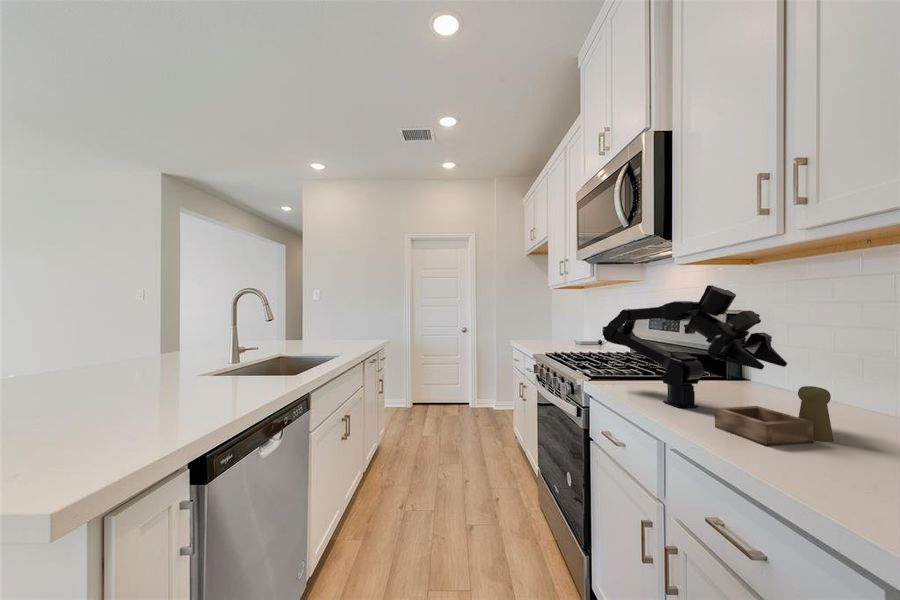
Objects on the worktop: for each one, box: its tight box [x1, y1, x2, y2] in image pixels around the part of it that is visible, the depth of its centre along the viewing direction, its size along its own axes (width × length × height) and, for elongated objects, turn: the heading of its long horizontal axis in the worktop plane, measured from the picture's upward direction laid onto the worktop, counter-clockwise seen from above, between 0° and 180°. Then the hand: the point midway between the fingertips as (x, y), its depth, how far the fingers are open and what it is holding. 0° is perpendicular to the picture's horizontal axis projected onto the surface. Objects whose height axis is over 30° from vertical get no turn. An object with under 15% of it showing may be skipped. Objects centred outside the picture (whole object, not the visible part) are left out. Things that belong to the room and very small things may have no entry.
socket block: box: [714, 405, 814, 447], centre depth 83 cm, size 12×12×4 cm
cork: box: [797, 385, 835, 443], centre depth 82 cm, size 6×6×11 cm
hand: (774, 366), depth 86 cm, fingers open, 9 cm apart
